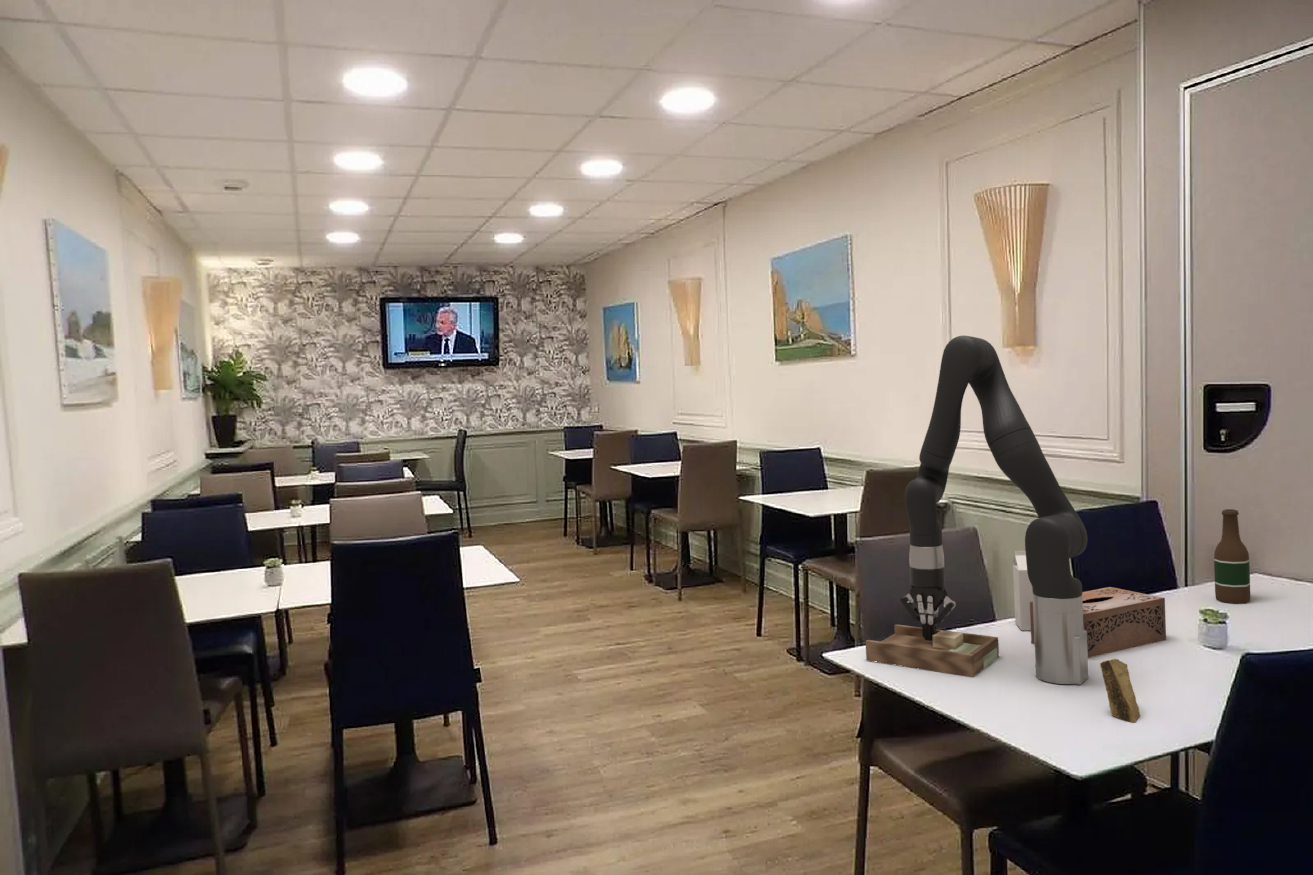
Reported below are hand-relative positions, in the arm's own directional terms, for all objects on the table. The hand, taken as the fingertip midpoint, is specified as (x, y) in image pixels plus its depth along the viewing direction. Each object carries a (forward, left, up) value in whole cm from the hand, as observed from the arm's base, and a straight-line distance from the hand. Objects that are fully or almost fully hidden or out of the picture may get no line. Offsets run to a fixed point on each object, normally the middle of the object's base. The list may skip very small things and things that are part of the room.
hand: (929, 639), depth 201 cm
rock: (-44, +16, -4) cm, 47 cm away
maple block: (-4, 0, -1) cm, 4 cm away
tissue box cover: (-29, -27, -4) cm, 39 cm away
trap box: (-2, +3, -3) cm, 5 cm away
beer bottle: (-49, -81, -3) cm, 94 cm away
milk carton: (-13, -33, -3) cm, 35 cm away
